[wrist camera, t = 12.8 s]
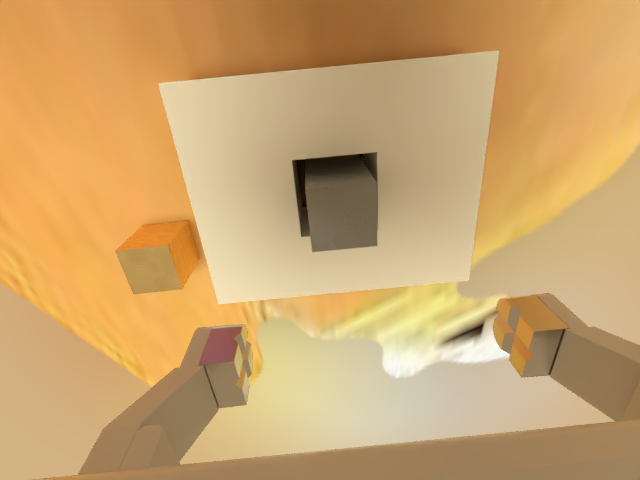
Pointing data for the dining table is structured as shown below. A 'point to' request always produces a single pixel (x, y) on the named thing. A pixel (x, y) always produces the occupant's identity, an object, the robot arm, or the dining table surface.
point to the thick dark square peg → (340, 203)
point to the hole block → (325, 141)
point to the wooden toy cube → (159, 257)
